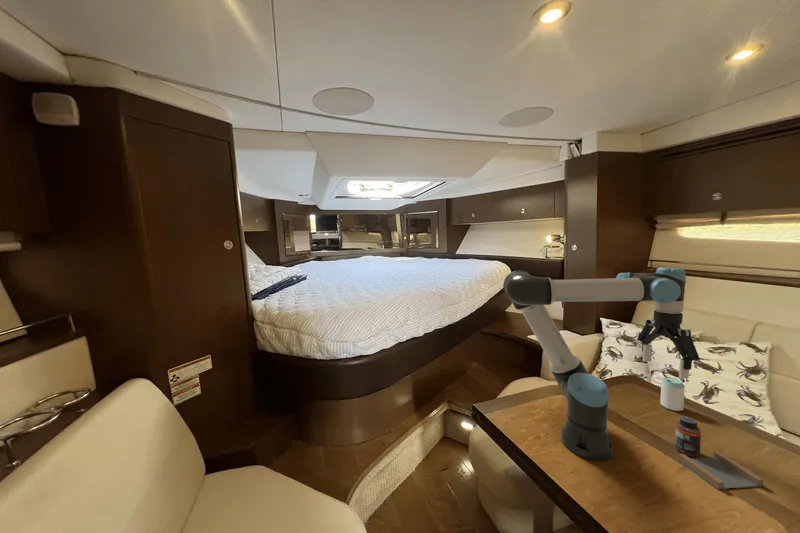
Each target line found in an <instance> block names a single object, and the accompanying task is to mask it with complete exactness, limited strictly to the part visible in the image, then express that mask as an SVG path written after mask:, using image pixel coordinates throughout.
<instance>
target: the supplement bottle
mask: <svg viewBox="0 0 800 533" xmlns="http://www.w3.org/2000/svg"><path fill="white" fill-rule="evenodd" d="M701 436H702V431H701V429H700V427H698V420H696V419H694V418H692V417H690V416H686V415H682V416H680V417H679V421H677V422H676V423H675V440H674V447H675V449H676V450H677V451H678V452H680V454H685V455H686V456H687V457H690V458H691V457H692V458H699V457H700V454H701V442H702V441H701V440H702V437H701Z"/></svg>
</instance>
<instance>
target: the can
mask: <svg viewBox="0 0 800 533" xmlns="http://www.w3.org/2000/svg"><path fill="white" fill-rule="evenodd" d="M660 384H661V385H660V402H659V403H660V405H661V406H662V407H664V409H666V410H669V411H673V412H680V411H684V406H685V405H684V404H685V402H684V401H685V390H686V388H685V385H684V382H683V381H682V380H680V378H679V379H678V378H675V377H671V376H665V377H663V379H662V380H661V383H660Z"/></svg>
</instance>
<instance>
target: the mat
mask: <svg viewBox="0 0 800 533" xmlns="http://www.w3.org/2000/svg"><path fill="white" fill-rule="evenodd" d="M677 461H678V462H679V463H680V464H682V465H684V467H686V468H687V469H689V470H690V471H691V472H692V473H694V474H695V475H697V476H698V477H699V476H700V477H699V478H701V479H702V478H703V479H702V480H704V481H705V482H706V483H707V484H709V485H711V487H713V488H714V489H715V490H716V491H717V490H718V491H719V490H720V489H723V490H730V489H729V488H736V489H746V488H758V487H759V488H760V487H764V479H763V478H762V477H761V476H759V475H757V474H755V473H754V472H753V471H750V470H749V469H748V468H746V467H744V466H742V465H741V464H739V463H738V462H737V461H734V460H733V459H731V458H730V457H728V456H727V455H726V454H723V453H721V452H720V451H713V456H710V457H709V456H708V457H692V458H691V457H690V456H688V455H685V454H683V453H679V454H678V460H677ZM720 491H721V490H720Z"/></svg>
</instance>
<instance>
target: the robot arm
mask: <svg viewBox="0 0 800 533" xmlns="http://www.w3.org/2000/svg"><path fill="white" fill-rule="evenodd" d="M686 280H687V279H686V271H685V269H683V268H680V267H668V266H667V267H666V266H665V267H664V266H663V267H657V268H656V270H655V272H651V273H650V272H648V273H646V272H630V271H629V272H620V273H617V275H616V277H615V278H614V277H613V278H583V279H580V278H579V279H551V278H550V277H549V276H547V277H546V276H544V277H543V276H540V277H539V276H535V275H534V276H533V275H531V274H530V273H529V272H527V271H525V270H514V271H512V272H510V273H509V274H507V275H506V276H505V278H504V281H503V284H502V285H503V289H504V292H505V294H506V295H507V297H508V298H509V299H510V301H511V303H512V305H513V307H514V308H515V310H517V311H520V312H521V313H522V315H523V316H524V318H525V321H526V322H527V324H528V325H529V327H530V329H531V330H532V332H533V334H534V336H535V337H536V339H537V341H538V342H539V344H540V346H541V349H542V350H543V352H544V353H545V355H546V357H547V359H548V360H549V361H550V365H549V370H550V371H551V373H552V375H553V377H554V379H555V382H556V383H557V385H558V386H559V388H560V389H561V391H562V393H563V394H564V397H565V399H566V402H567V406H566V407H567V410H566V412H567V415H566V416H567V417H566V420H565V422H564V425H563V427H562V429H561V431H560V440H561V442H562V444H563V445H564V447H566V448H567V449H568V450H569V451H570V452H572V453H573V454H576V455H577V456H580V457H582V458H584V459H587V460H592V461H607V460H609V459H611V458H612V456H613V452H614V450H613V443H612V440H611V438H610V434H609V431H608V414H609V412H608V411H609V400H610V395H609V388H608V385H607V384H606V383H605V382H604V381H603V380H602V379H601V378H599V377H596V376H595V375H593V374H590V373H589V372H588V370H587V369H586V367H585V365H584V363H583V362H582V359H581V358H580V357H578V356H577V355H573V353H572V351H571V349H570V347H568V346H569V345H568V344H567V343H566V341H565V339H564V337H563V335H562V333H561V332H560V330H559V329H558V326H557V325H556V323H555V322H554V320H553V318H552V316H551V315H550V313H549V312H548V309H547V308H546V306H550V305H552V304H553V303H556V302H557V303H558V302H561V303H562V302H572V303H573V302H629V301H630V302H637V301H638V302H654V304H653V309H655V310H653V319H646V320H645V325H644V326H643V328H642V330H641V331H640V333H639V335H638V336H637V338H636V340H637V341H639V342H640V343H641V344H642V345H641V352H642V362H644V363H647V362H649V363H650V362H652V349H653V345H652V342H653V341H655V340H656V339H657V338H658V337H659V336H660V337H663V338H664V337H665V338H667V339H669V340H670V341H671V342H672V343H673V345H674V346H675V347H676V349H677V351H678V353H679V354H680V356H681V358H680V359H679V369H678V378H679V379H689V374H690V370H692V367H693V364H692V363H693V361H700V355H699V353H698V351H697V349H696V346H695V343H694V341H693V338H692V330H690V329H683V328H682V327H681V325H682V324H683V318H684V316H683V313H682V312H683V311H684V303H685V302H684V301H685V290H686V283H687V281H686Z"/></svg>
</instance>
